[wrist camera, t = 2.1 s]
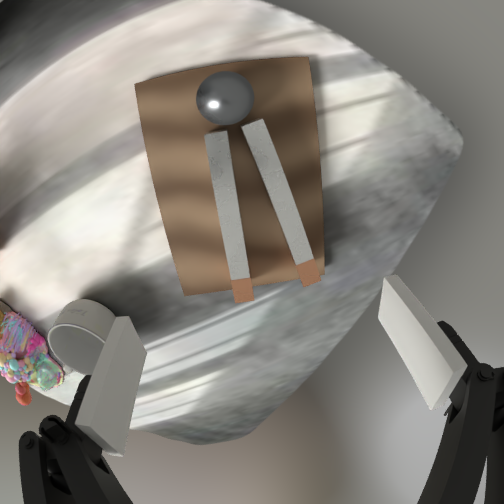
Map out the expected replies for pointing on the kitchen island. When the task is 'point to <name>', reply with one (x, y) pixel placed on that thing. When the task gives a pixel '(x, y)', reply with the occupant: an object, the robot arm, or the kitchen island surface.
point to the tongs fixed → (227, 167)
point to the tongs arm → (281, 199)
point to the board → (245, 171)
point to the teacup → (80, 335)
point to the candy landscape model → (25, 356)
